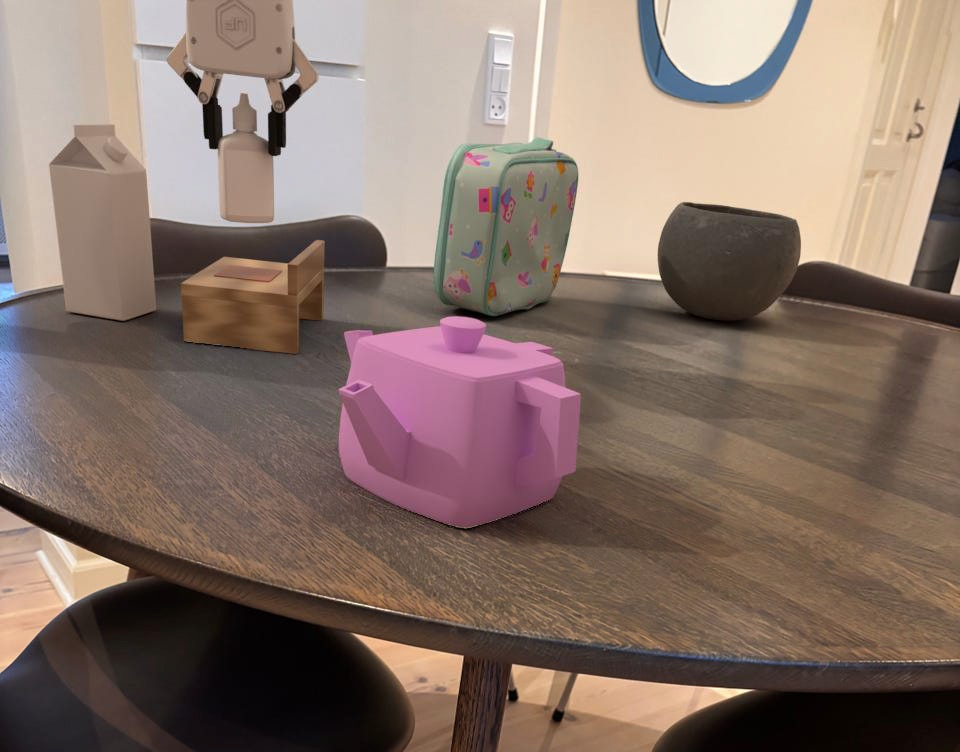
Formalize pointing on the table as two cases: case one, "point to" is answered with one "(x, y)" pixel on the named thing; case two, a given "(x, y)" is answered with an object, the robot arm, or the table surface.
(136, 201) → the milk carton
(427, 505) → the teakettle
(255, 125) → the eye dropper bottle
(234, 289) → the wooden toy chair
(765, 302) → the bowl
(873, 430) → the table surface
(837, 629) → the table surface
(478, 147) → the lunch box
